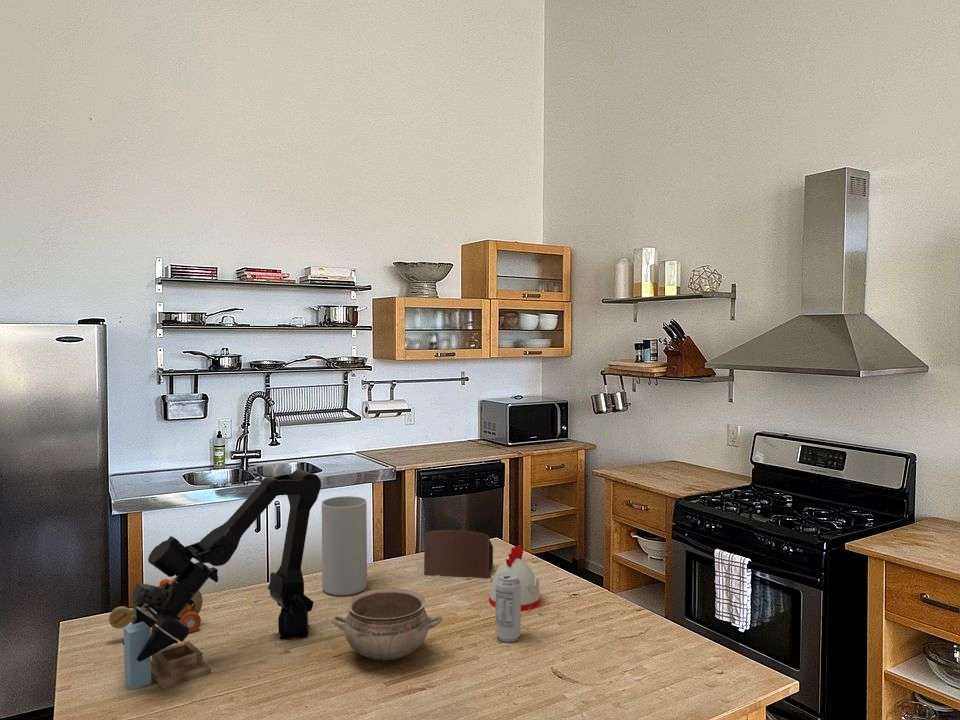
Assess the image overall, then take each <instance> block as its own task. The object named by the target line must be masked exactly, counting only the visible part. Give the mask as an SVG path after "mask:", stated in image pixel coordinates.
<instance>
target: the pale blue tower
mask: <svg viewBox="0 0 960 720" xmlns="http://www.w3.org/2000/svg"><path fill="white" fill-rule="evenodd" d="M150 637H151V628H150V627H149V626H148V625H147V624H146V623H145V622H141V623H137V624H133V625H131V624H128V625H127V626H125V627H123V641H124V645H123V658H124V659H123V660H124V661H123V662H124V683H125V685H126V686H127V687H128V688H129V690H130V691H133V690H135V689H139V688H143V687H145V686H148V685H151V684H152V676H151V661H152V656H150V657H148V658H147V659H145V660H143V661H141V662H139V661H138V660H136V658H137V657H138V655H139V653H140V652H141V650H142V649H143V647H144V646H145V644H146V643H147V641H148V640H149V638H150Z"/></svg>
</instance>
